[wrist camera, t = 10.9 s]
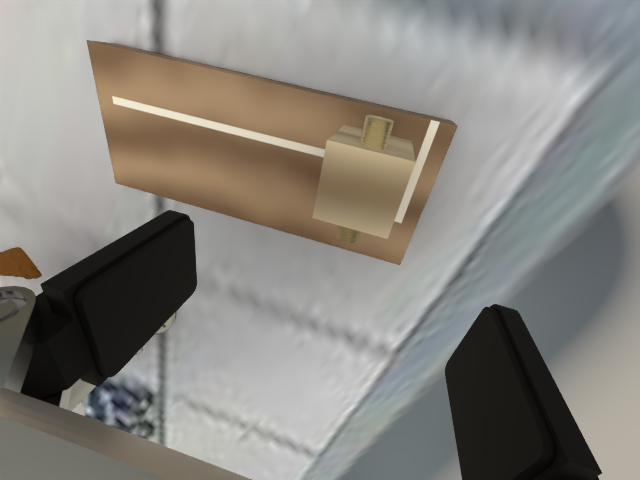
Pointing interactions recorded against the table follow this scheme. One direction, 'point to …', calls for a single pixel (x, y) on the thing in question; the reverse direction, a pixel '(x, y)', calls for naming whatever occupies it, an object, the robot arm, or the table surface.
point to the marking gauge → (363, 179)
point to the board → (247, 142)
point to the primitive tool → (17, 264)
